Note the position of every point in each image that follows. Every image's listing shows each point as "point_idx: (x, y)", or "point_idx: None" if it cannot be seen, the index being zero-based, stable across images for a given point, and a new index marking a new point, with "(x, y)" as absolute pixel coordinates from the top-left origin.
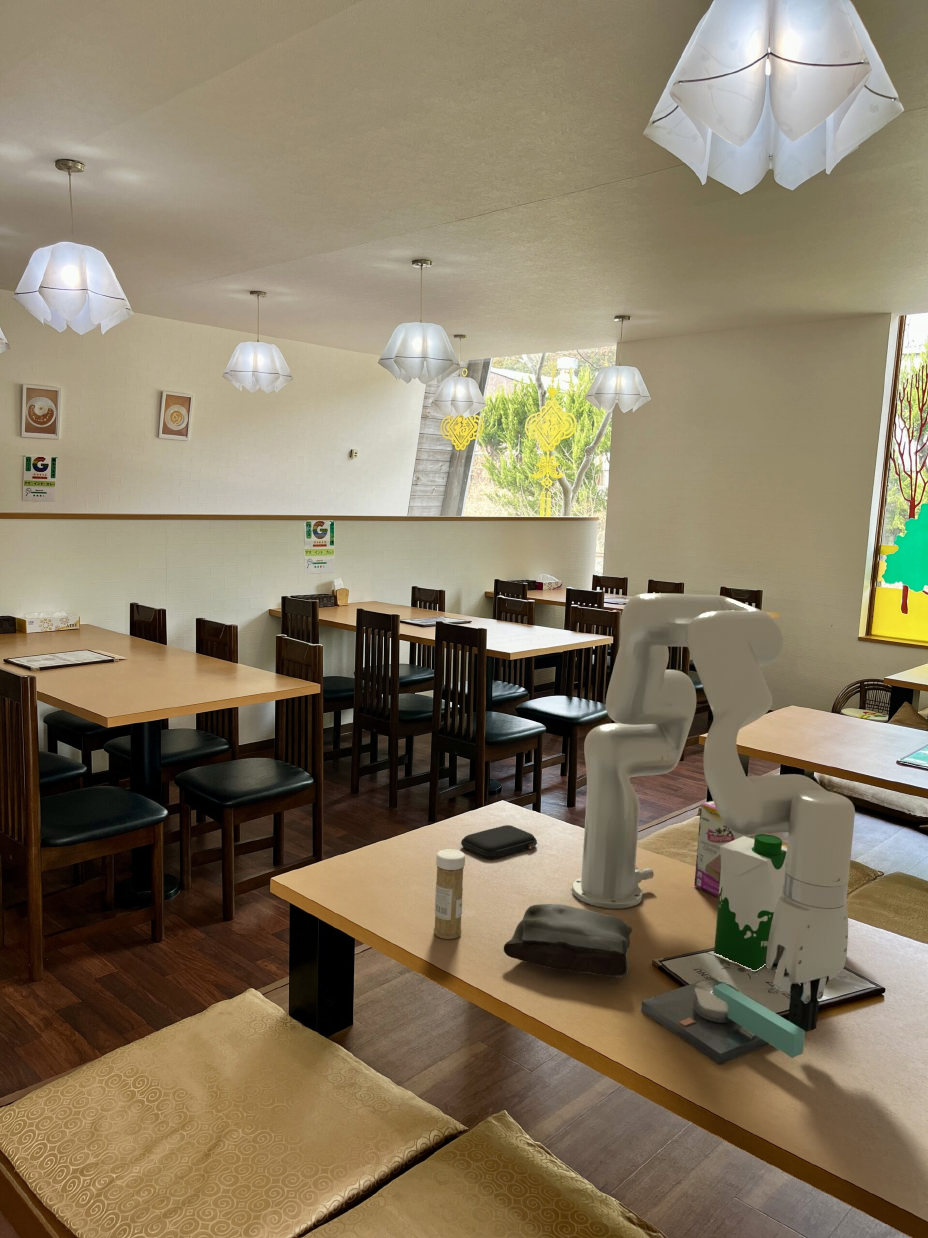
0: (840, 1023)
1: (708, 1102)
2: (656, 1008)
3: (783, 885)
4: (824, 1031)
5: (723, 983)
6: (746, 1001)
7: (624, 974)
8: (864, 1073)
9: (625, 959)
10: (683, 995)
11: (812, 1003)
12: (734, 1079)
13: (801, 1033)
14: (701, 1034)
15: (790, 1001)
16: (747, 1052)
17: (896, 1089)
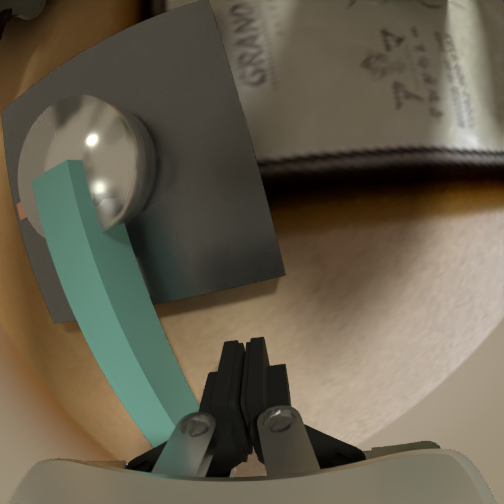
0: (437, 247)
1: (40, 370)
2: (6, 142)
3: None
4: (380, 268)
5: (64, 164)
6: (84, 298)
7: (27, 18)
8: (332, 401)
9: (3, 12)
10: (73, 83)
11: (243, 461)
12: (80, 351)
13: None
14: (39, 254)
15: (216, 381)
16: None
17: (344, 432)
